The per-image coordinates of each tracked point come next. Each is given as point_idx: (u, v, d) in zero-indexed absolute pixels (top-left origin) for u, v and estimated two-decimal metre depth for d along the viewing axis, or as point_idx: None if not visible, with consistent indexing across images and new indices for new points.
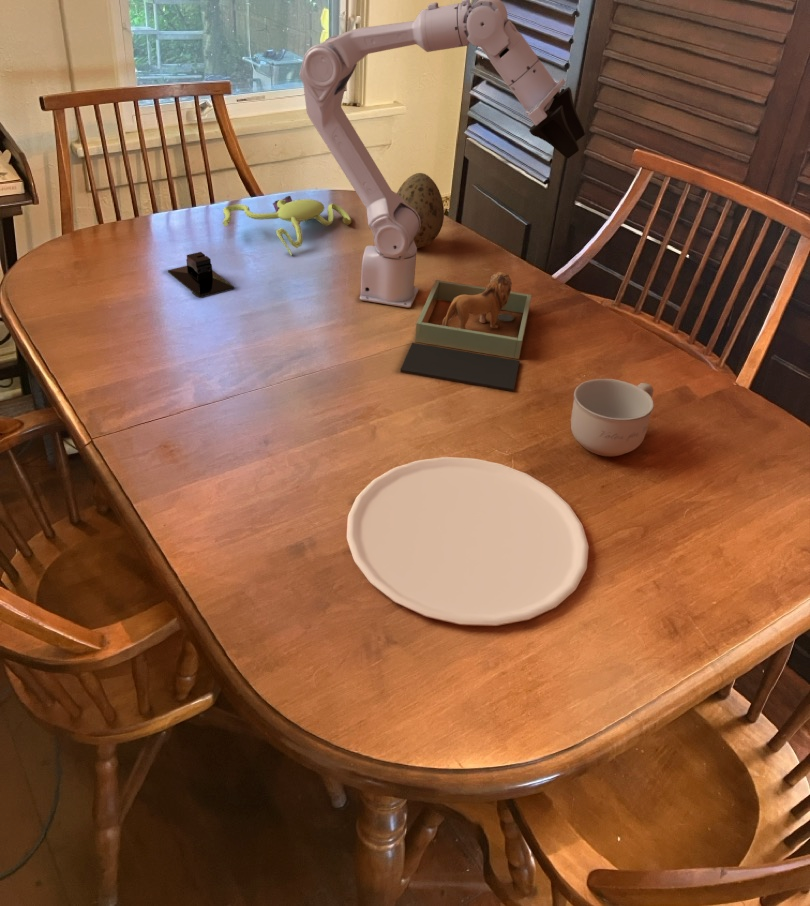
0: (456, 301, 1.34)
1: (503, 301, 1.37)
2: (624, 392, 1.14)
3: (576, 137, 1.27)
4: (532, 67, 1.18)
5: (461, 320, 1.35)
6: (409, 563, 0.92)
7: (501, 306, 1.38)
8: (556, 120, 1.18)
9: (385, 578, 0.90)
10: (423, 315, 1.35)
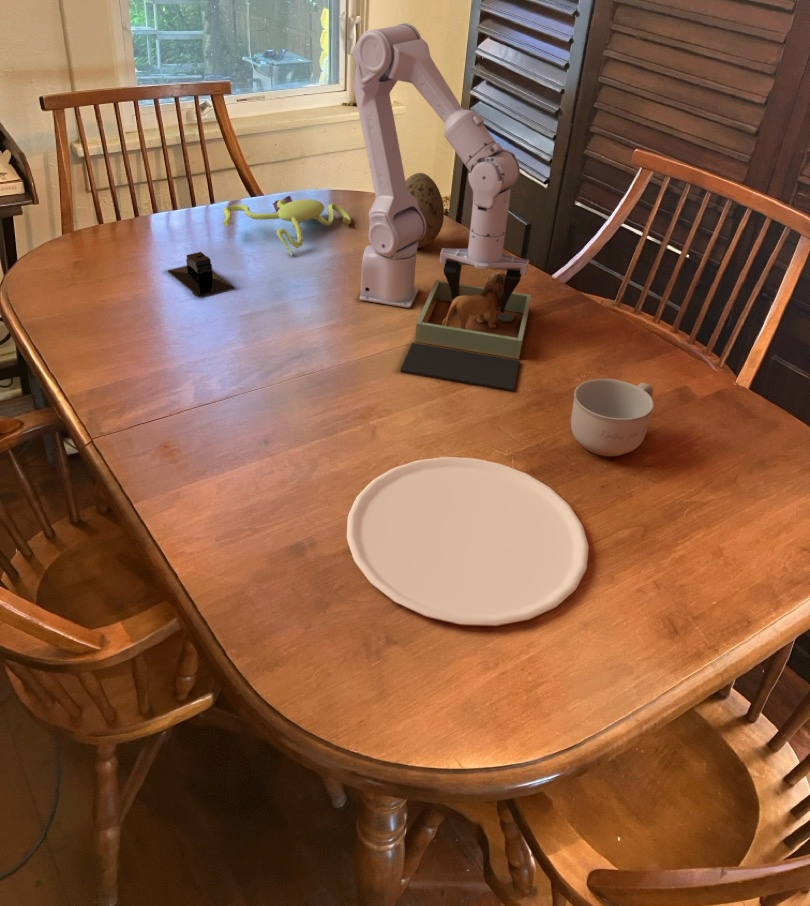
0: (456, 302, 1.34)
1: (501, 300, 1.37)
2: (624, 392, 1.14)
3: None
4: (473, 233, 1.28)
5: (461, 321, 1.35)
6: (409, 563, 0.92)
7: (499, 305, 1.38)
8: None
9: (385, 578, 0.90)
10: (423, 315, 1.35)
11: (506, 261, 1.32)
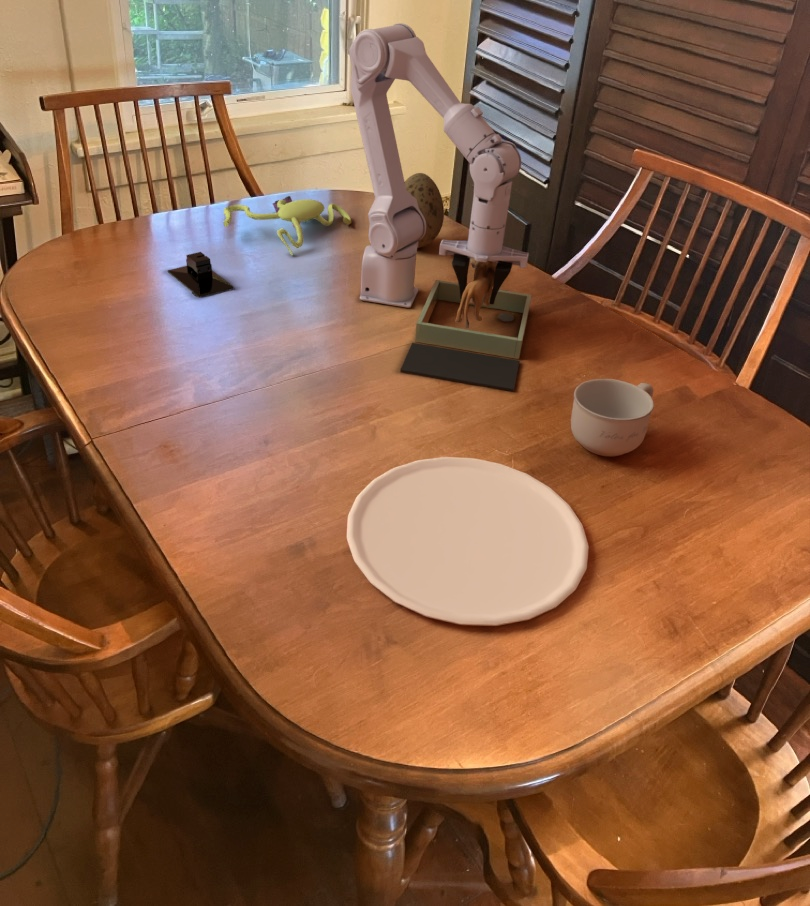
0: (473, 290, 1.31)
1: None
2: (624, 392, 1.14)
3: None
4: (474, 225, 1.27)
5: (477, 307, 1.33)
6: (409, 563, 0.92)
7: None
8: None
9: (385, 578, 0.90)
10: (423, 315, 1.35)
11: (506, 254, 1.31)
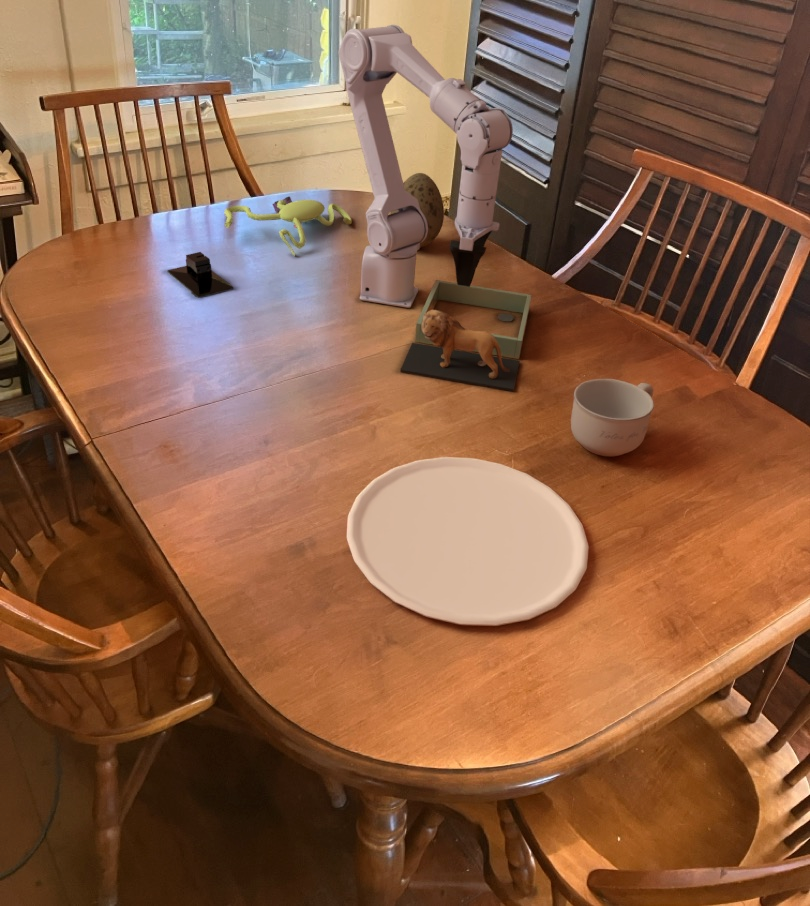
0: (495, 339, 1.23)
1: None
2: (624, 392, 1.14)
3: None
4: (488, 200, 1.22)
5: None
6: (409, 563, 0.92)
7: None
8: (475, 256, 1.24)
9: (385, 578, 0.90)
10: (423, 315, 1.35)
11: None
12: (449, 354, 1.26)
